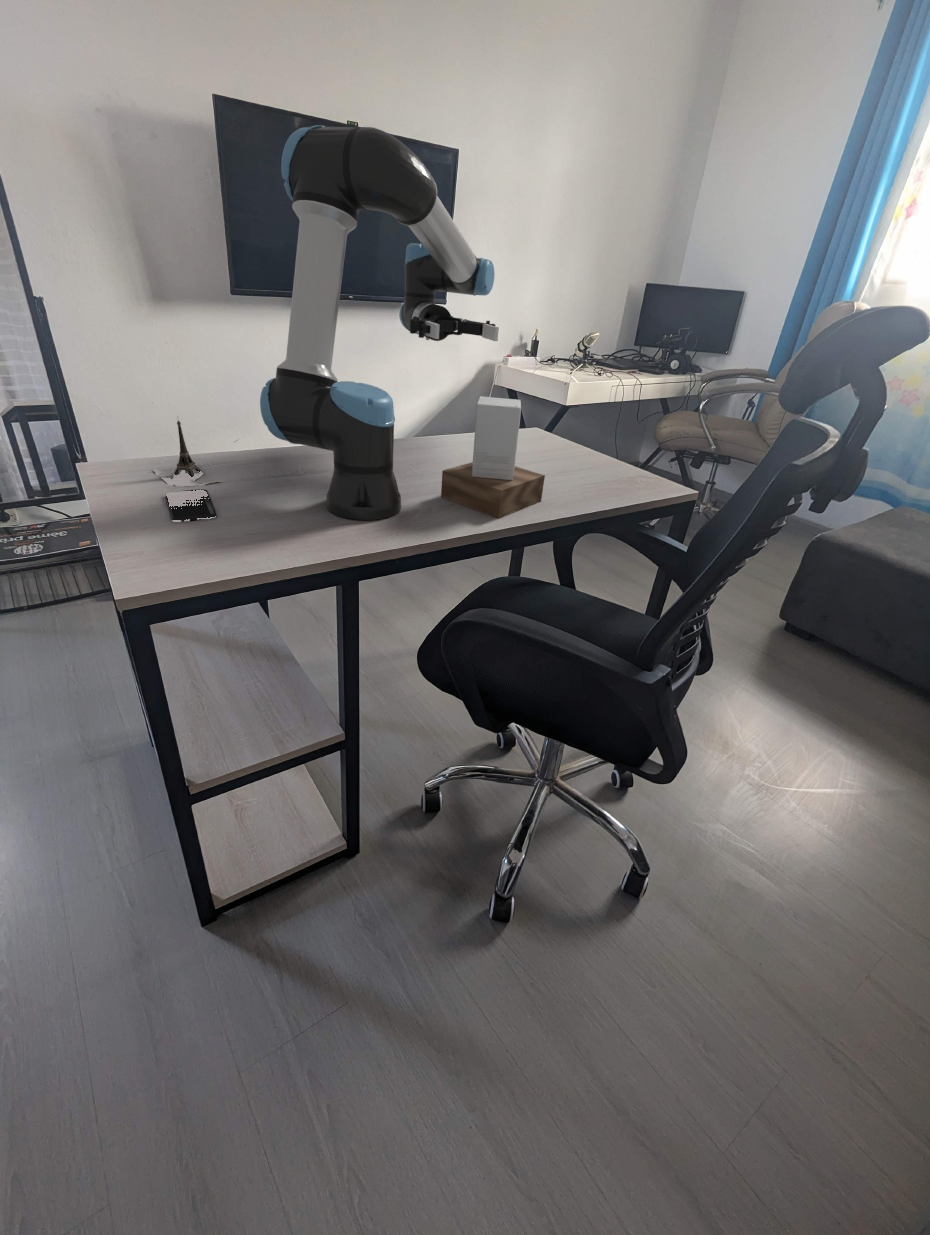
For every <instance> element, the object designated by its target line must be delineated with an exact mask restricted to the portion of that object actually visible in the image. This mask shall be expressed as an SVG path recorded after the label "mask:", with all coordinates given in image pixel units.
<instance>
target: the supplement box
mask: <svg viewBox="0 0 930 1235" xmlns="http://www.w3.org/2000/svg"><path fill="white" fill-rule="evenodd" d="M521 405H522V404H521V399H516V398H514V399H513V398H504V397H503V398H501V397H493V396H492V397H491V396H484V395H483V396H482V395H481V396H479V399H478V401H477V404H476V410H475V411H476V413H475V424H474V426H475V427H474V437H473V438H474V440H473V441H474V442H473V451H472V452H473V454H472V462H473V465H472V477H481V478H491V479H502V480H513V475H514V467H515V464H516V457H517V450H518V443H519V442H518V440H519V439H518V438H519V432H520V422H521V411H522V406H521Z"/></svg>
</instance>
